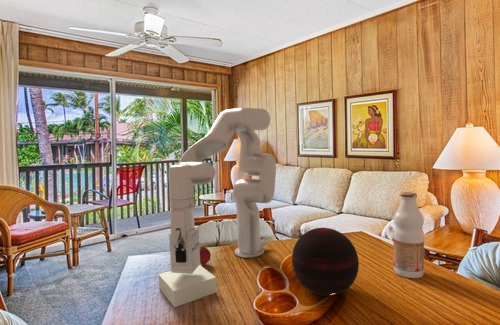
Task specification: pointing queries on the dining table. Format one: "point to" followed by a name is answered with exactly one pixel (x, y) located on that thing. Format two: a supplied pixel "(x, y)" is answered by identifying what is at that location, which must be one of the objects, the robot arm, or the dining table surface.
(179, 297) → the block
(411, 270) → the fruit juice
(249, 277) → the dining table surface
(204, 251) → the onion
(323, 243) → the decorative orb
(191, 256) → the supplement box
